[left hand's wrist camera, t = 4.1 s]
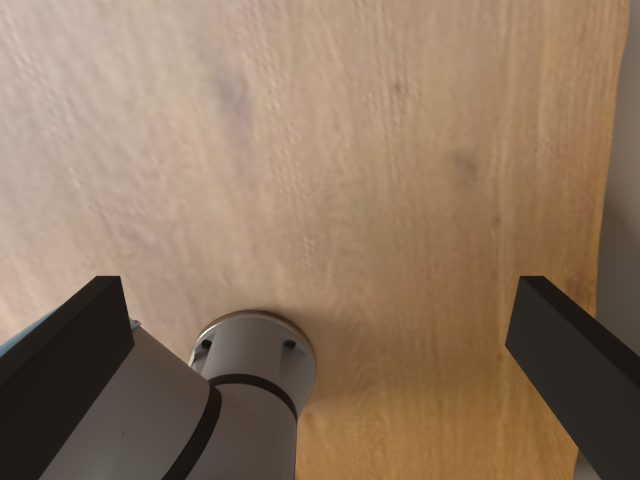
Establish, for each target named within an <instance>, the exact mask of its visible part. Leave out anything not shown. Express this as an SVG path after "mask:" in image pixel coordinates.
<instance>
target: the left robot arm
mask: <svg viewBox="0 0 640 480" xmlns="http://www.w3.org/2000/svg"><path fill="white" fill-rule="evenodd" d="M139 325H141V323H140V322H139V321H137V320H132V319H131V318H129V315H128V311H127V306H126V302H125V297H124V292H123V288H122V283H121V278H120V276H96V277H95V278H94V279H92V280H91V281H90V282H89V283H88V284H86V285H85V286H84V287H83V288H82V289H80V290H79V291H78V292H77V293H76V294H75V295H73V296H72V297H71V298H70V299H69V300H67V301H66V302H65V303H64V304H62V305H61V306H59V307H57V308H56V309H54V310H53V311H51V312H50V313H48V314H46V315H45V316H43V317H42V318H40V319H39V320H37V321H36V322H34V323H33V324H31V325H30V326H28V327H27V328H25V329H24V330H22V331H21V332H19V333H18V334H16V335H15V336H13V337H12V338H11V339H9V340H8V341H6V342H5V343H3V344H2V345H1V346H0V480H295V461H296V440H297V421H298V418H299V416H300V414H301V412H302V410H303V408H304V406H305V404H306V402H307V400H308V398H309V396H310V394H311V392H312V389H313V386H314V382H315V377H316V357H315V353H314V350H313V347H312V345H311V343H310V341H309V339H308V338H307V337H306V335H305V334H304V333H303V332H302V331H301V330H300V329H299V328H298V327H297V326H295V325H294V324H293V323H291V322H289V321H288V320H286V319H284V318H282V317H280V316H277V315H274V314H271V313H267V312H261V311H240V312H234V313H230V314H227V315H225V316H222V317H220V318H218V319H216V320H215V321H213V322H212V323H210V324H209V325H208V326H207V327H206V328H205V329H204V330H203V331H202V332H201V334H200V335H199V337H198V338H197V340H196V342H195V344H194V347H193V349H192V351H191V354H190V359H189V364H188V365H187V364H186V363H185V362H183V361H182V360H181V359H180V358H178V357H177V356H176V355H175V354H173V353H172V352H171V351H170V350H169V349H167V348H166V347H165V346H164V345H162V344H161V343H160V342H159V341H158V340H156V339H155V338H154V337H153V336H151V335H150V334H149V333H148V332H147V331H145V330H144V329H143V328H142V327H140V326H139ZM505 346H506V347H507V349H508V350H509V352H510V353H511V354H512V356H513V357H514V359H515V360H516V361H517V363H518V364H519V366H520V367H521V368H522V370H523V371H524V373H525V374H526V375H527V377H528V378H529V380H530V381H531V382H532V384H533V385H534V387H535V388H536V389H537V391H538V392H539V393H540V395H541V396H542V398H543V399H544V400H545V402H546V403H547V405H548V406H549V407H550V409H551V410H552V412H553V413H554V414H555V416H556V417H557V419H558V420H559V421H560V423H561V424H562V426H563V427H564V428H565V430H566V431H567V433H568V434H569V435H570V437H571V438H572V439H573V441H574V442H575V444H576V445H577V446H578V448H579V449H580V450H581V452H582V453H583V455H584V456H585V458H586V459H587V460H588V462H589V463H590V465H591V466H592V467H593V469H594V470H595V471H596V473H597V474H598V476H599V477H600V478H601V480H640V357H639V356H638V355H637V354H635V353H634V352H633V351H632V350H631V349H629V348H628V347H627V346H626V345H625V344H623V343H622V342H621V341H620V340H619V339H618V338H616V337H615V336H614V335H613V334H612V333H611V332H609V331H608V330H607V329H606V328H605V327H603V326H602V325H601V324H600V323H599V322H597V321H596V320H595V319H594V318H593V317H592V316H590V315H589V314H588V313H587V312H586V311H584V310H583V309H582V308H581V307H580V306H578V305H577V304H576V303H575V302H574V301H573V300H571V299H570V298H569V297H568V296H567V295H565V294H564V293H563V292H562V291H561V290H560V289H558V288H557V287H556V286H555V285H554V284H552V283H551V282H550V281H549V280H548V279H546V278H545V277H544V276H520V278H519V283H518V288H517V292H516V297H515V302H514V306H513V311H512V315H511V320H510V325H509V329H508V334H507V338H506V343H505Z"/></svg>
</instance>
